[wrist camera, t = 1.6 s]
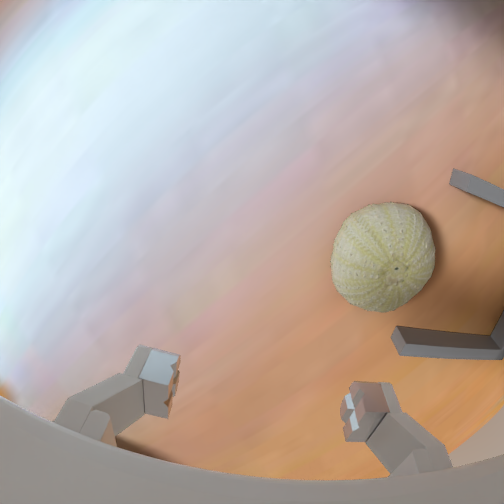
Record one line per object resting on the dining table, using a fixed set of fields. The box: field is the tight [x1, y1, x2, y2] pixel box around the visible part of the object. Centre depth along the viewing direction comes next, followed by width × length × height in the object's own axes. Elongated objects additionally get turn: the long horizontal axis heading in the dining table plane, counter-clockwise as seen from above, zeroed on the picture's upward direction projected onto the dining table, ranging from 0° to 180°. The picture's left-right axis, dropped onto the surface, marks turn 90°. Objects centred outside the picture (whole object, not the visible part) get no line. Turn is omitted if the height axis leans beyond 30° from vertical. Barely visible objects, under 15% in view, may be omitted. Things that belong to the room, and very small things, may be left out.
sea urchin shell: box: [330, 202, 436, 312], centre depth 25 cm, size 9×8×8 cm
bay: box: [391, 169, 504, 360], centre depth 26 cm, size 16×18×3 cm
